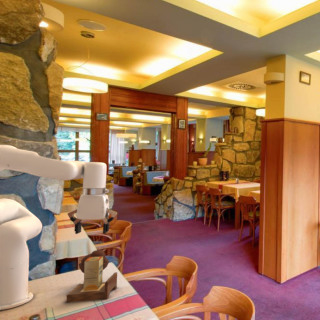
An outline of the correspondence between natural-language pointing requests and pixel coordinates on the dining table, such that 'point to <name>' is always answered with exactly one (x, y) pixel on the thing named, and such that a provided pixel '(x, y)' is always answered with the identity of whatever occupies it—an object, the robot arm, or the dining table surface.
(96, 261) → the shoe polish box
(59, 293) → the dining table surface
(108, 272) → the dining table surface
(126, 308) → the dining table surface
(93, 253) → the ice cream bowl
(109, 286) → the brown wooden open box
